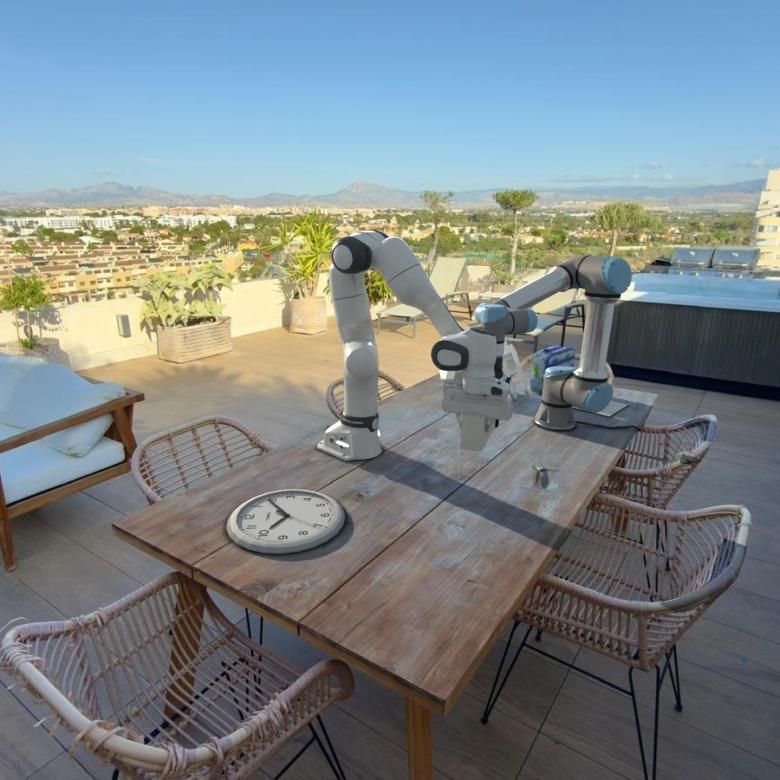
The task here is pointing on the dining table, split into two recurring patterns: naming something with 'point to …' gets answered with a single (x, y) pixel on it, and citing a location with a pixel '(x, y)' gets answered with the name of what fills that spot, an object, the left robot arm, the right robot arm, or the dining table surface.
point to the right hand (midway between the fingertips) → (485, 424)
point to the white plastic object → (508, 355)
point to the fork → (538, 469)
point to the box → (474, 432)
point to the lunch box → (549, 364)
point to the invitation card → (610, 408)
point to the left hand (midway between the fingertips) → (475, 429)
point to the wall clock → (285, 521)
